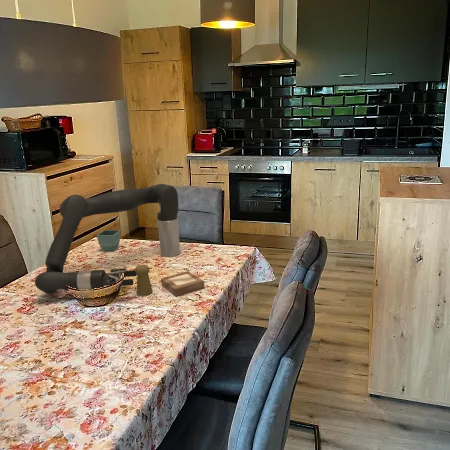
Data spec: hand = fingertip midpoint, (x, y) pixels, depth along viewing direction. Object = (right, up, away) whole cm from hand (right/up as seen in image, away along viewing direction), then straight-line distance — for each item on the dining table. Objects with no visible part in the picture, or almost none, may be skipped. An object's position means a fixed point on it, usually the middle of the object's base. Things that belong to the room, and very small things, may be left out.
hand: (135, 277), depth 165 cm
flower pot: (-23, +7, +53) cm, 58 cm away
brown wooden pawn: (+3, -6, +2) cm, 7 cm away
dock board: (+18, -4, +5) cm, 19 cm away
